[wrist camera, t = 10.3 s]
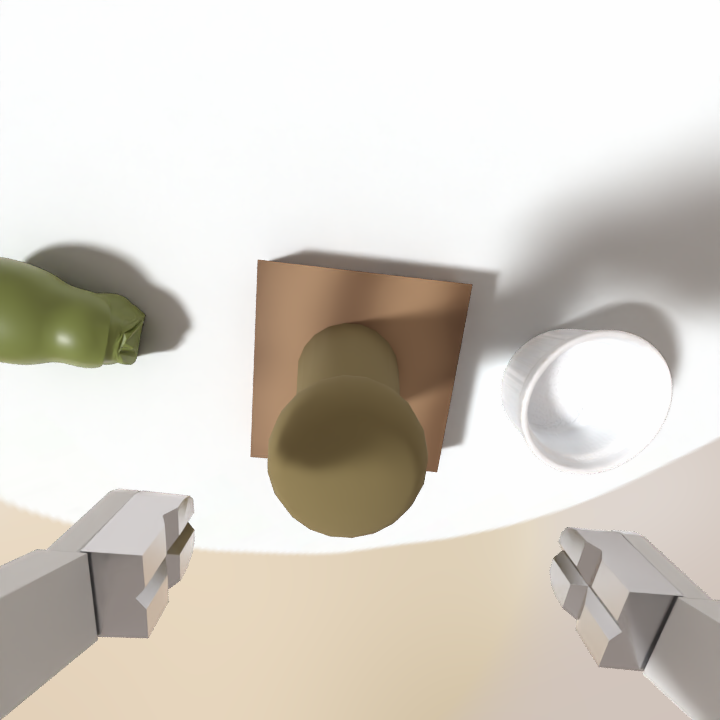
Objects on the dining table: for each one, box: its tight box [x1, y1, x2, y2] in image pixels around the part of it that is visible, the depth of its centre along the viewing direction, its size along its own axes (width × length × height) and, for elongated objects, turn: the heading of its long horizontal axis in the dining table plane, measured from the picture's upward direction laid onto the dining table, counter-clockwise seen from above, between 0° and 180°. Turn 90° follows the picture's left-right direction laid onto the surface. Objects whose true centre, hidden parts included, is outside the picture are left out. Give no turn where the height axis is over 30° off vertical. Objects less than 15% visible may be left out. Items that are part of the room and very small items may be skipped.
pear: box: [0, 257, 145, 368], centre depth 19 cm, size 6×5×10 cm
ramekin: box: [501, 329, 672, 474], centre depth 22 cm, size 9×9×4 cm
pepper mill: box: [268, 323, 428, 538], centre depth 15 cm, size 6×6×11 cm
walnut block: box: [251, 260, 472, 472], centre depth 21 cm, size 12×12×2 cm
